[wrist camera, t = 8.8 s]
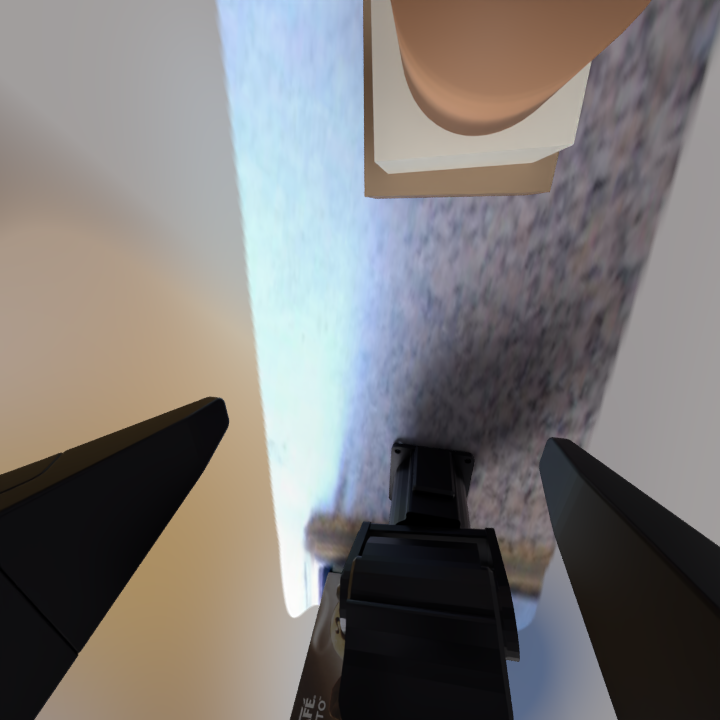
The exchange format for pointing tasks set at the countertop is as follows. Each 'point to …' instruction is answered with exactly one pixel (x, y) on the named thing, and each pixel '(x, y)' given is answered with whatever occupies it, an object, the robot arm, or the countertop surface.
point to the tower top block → (441, 147)
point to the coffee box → (322, 661)
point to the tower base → (450, 180)
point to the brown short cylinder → (499, 54)
